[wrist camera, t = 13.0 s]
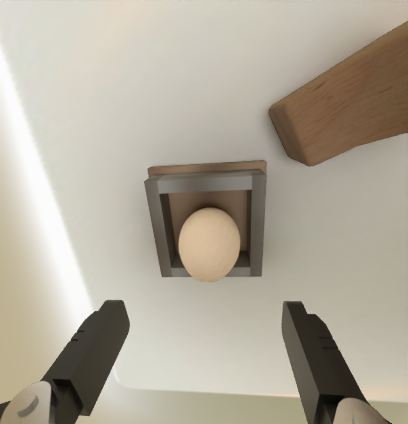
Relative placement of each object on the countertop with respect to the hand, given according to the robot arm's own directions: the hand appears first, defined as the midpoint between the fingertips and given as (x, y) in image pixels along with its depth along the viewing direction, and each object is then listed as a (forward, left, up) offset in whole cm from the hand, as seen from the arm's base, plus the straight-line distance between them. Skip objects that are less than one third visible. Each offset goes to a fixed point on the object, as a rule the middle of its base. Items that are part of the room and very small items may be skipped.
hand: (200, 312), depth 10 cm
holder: (0, -1, -11) cm, 11 cm away
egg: (0, -1, -10) cm, 10 cm away
